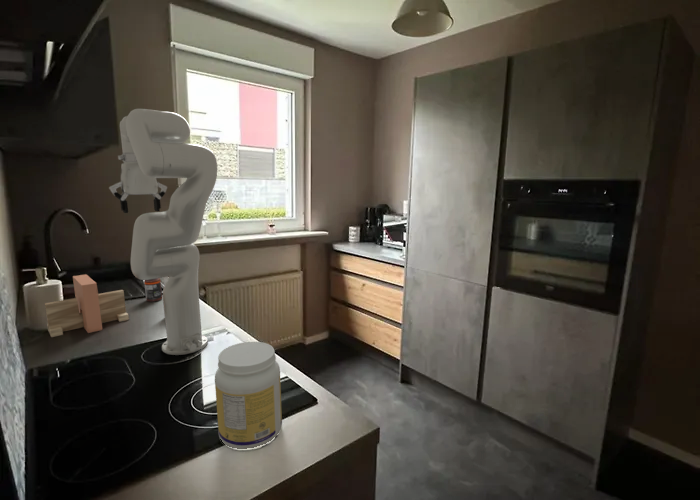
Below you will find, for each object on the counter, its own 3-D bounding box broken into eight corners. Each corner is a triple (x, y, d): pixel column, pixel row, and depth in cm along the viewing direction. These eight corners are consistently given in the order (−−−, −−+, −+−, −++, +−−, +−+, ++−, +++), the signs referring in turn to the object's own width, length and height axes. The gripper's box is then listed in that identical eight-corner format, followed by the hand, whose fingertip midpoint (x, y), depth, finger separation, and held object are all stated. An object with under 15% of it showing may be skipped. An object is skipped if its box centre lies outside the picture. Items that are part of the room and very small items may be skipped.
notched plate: (102, 329, 126) (96, 283, 123) (88, 333, 123) (81, 285, 120) (91, 317, 137) (86, 274, 135) (78, 320, 135) (72, 276, 132)
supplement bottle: (154, 297, 161) (151, 271, 159) (165, 298, 159) (163, 272, 157) (142, 301, 156) (140, 274, 153) (154, 302, 154) (151, 275, 152)
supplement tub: (237, 410, 82) (232, 337, 79) (291, 417, 80) (288, 341, 77) (205, 449, 70) (199, 365, 67) (268, 458, 68) (264, 371, 65)
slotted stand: (129, 319, 135) (126, 292, 133) (51, 337, 120) (46, 307, 118) (122, 314, 141) (119, 287, 139) (47, 330, 126) (43, 301, 124)
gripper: (109, 158, 116) (115, 214, 119) (168, 160, 128) (172, 211, 131) (103, 159, 122) (109, 212, 125) (160, 160, 133) (164, 209, 137)
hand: (141, 211), depth 128 cm, fingers open, 9 cm apart
